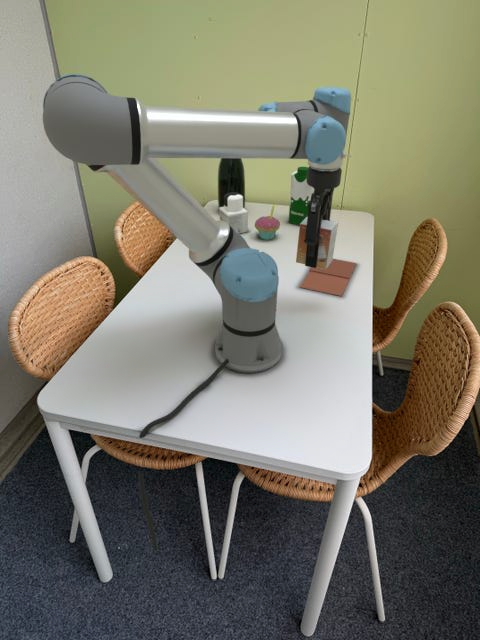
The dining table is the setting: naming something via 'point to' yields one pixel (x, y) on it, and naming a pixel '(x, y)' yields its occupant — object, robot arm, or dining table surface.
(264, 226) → the cupcake
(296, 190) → the milk carton
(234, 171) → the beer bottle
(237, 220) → the container
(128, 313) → the dining table surface
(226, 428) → the dining table surface
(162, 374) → the dining table surface
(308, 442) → the dining table surface
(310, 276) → the napkin
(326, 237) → the small box
